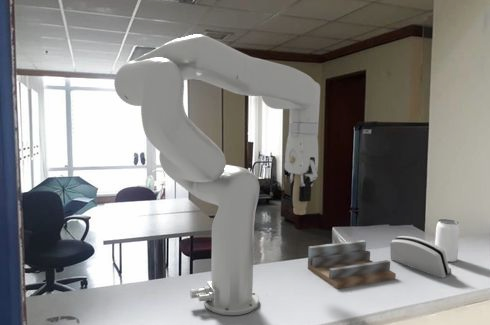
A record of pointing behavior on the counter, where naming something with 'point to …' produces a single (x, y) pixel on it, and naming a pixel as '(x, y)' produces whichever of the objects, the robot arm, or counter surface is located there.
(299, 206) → the handle
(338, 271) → the track
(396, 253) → the grey curved slotted block
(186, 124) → the robot arm
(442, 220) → the can
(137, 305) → the counter surface
